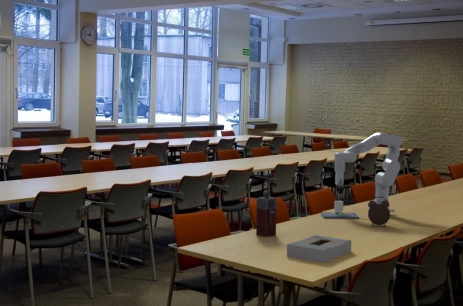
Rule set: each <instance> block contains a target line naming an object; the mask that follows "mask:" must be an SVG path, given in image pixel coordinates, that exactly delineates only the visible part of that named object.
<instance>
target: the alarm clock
mask: <svg viewBox="0 0 463 306" xmlns="http://www.w3.org/2000/svg"><path fill="white" fill-rule="evenodd" d="M375 198H384V197H375V196H374V197H373V198H372V200H371V199H369V202H367V206H368V211H367V217H368V219H369V221H370V222H371V226H375V225H376V226H383V225H384V227H386V224H388V222H389V221H390V218H391V212H389V209H390V202H389V200H387V201H386V199H385V198H384V199H385V200H384V201H382V202H381V204H379V203H378V204H377V203H376V202H375ZM378 202H380V201H378ZM387 207H388V208H389V209H388V208H387Z"/></svg>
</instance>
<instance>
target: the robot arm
mask: <svg viewBox="0 0 463 306" xmlns="http://www.w3.org/2000/svg"><path fill="white" fill-rule="evenodd" d="M403 143H404V140H403V138H402V136H400V135H397V134H396V135H395V134H390V133H386V132H381V131H377V132H374V133H373V134H372V135H370V136H369V137H367V138H365V139H364V140H363V141H361V142H359V143H356V144H355V145H352V146H351V147H349V148H347V149H346V150H345V151H343V152H342V151H341V152H339V151H337V152H335V153H334V172H335V177H334V178H335V181H334V184H335V185H336V192H338V194H344V180H345V179H344V172H346V163H354V162H356V160H357V158H358V157H357V155H360V154H364V153H368V152H370V151H372V150H373V149H374V148H375V147H377V146H379V145H384V146H387V148H388V149H387V153H386V156H385V158H384V160H383V162H382V167H381V168H382V169H383V170H384V171H380V172H377V173H376V174H375V177H374V185H375V195H374V197H384V198H385V199H386V201H387V200H388V201H389V197H390V191H389V190H390V187H391V186H392V185H393V184H394V183H395V180H397V179H396V178H397V177H398V174H399V172H400V169H401V164H400V161H398V160H399V156H400V153H401V150H400V149H401V148H400V147H401V146H402V145H403ZM384 198H374V201H375V202H376V203H377V204H378V203H379V204H381V202H382V201H384V200H385V199H384ZM378 201H380V202H378ZM387 208H388V207H387ZM388 209H389V212H390V213H395V211H396V210H395V209H390V207H389V208H388Z"/></svg>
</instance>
